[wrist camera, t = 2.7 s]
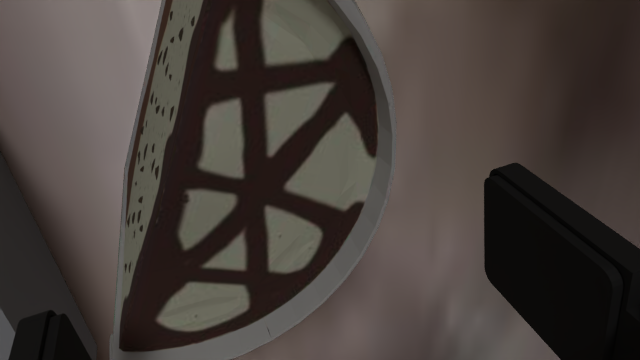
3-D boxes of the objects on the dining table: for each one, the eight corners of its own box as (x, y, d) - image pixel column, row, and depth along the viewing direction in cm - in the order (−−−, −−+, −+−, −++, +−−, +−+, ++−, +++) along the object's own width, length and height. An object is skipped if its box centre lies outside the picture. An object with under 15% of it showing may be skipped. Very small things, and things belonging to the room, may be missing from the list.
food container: (257, 220, 25) (318, 397, 16) (117, 199, 22) (106, 396, 14) (353, -55, 20) (506, -1, 12) (188, -120, 18) (235, -110, 9)
